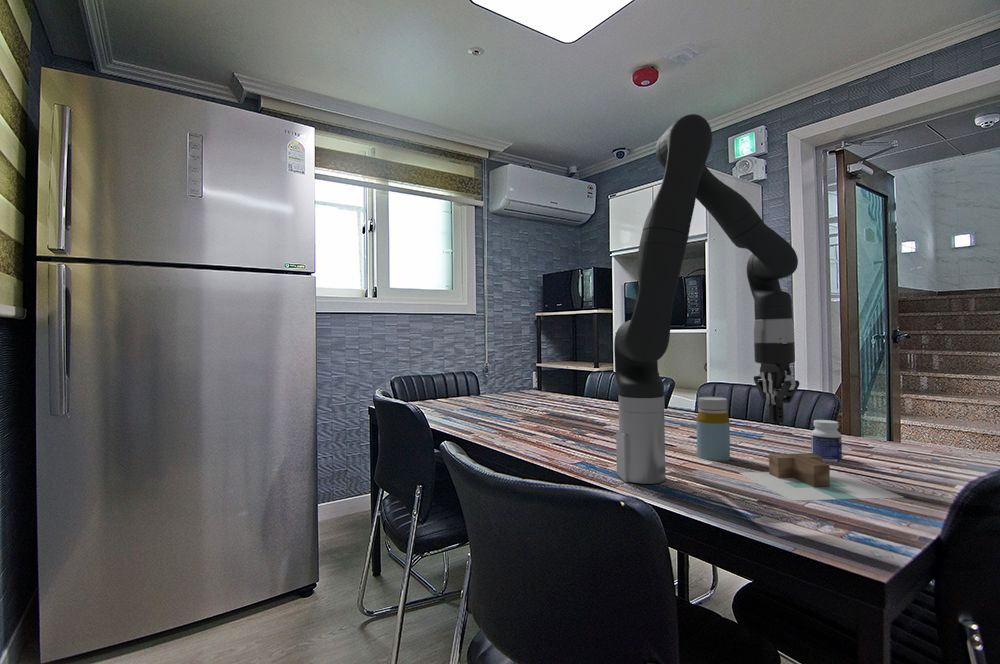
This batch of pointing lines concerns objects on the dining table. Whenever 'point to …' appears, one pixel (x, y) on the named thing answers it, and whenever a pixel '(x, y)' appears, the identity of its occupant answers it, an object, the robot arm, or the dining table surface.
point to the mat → (838, 489)
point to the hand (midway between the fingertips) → (776, 422)
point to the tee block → (800, 468)
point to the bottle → (713, 429)
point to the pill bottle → (827, 440)
